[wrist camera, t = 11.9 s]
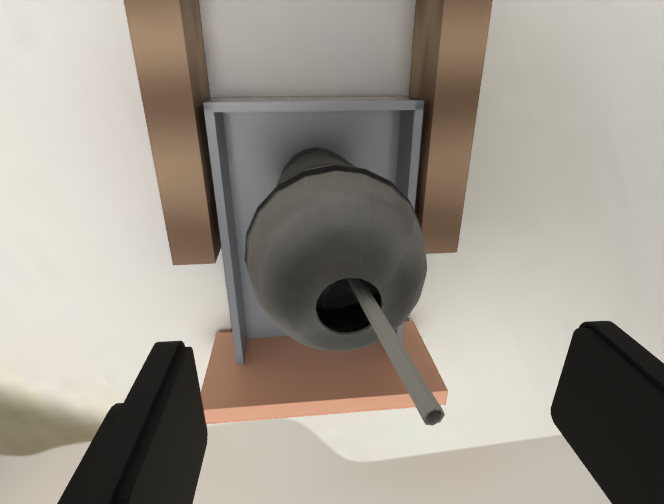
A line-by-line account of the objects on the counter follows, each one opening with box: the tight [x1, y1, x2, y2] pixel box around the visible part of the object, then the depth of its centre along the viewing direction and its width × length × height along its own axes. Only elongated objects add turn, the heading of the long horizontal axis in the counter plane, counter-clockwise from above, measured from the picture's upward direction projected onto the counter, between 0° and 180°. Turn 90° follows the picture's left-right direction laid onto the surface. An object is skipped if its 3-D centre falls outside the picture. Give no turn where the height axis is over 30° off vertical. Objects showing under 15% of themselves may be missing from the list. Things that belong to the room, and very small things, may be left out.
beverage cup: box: [245, 147, 445, 425], centre depth 18 cm, size 7×7×20 cm
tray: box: [201, 96, 448, 424], centre depth 26 cm, size 19×16×8 cm
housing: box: [124, 0, 493, 265], centre depth 23 cm, size 20×18×5 cm
